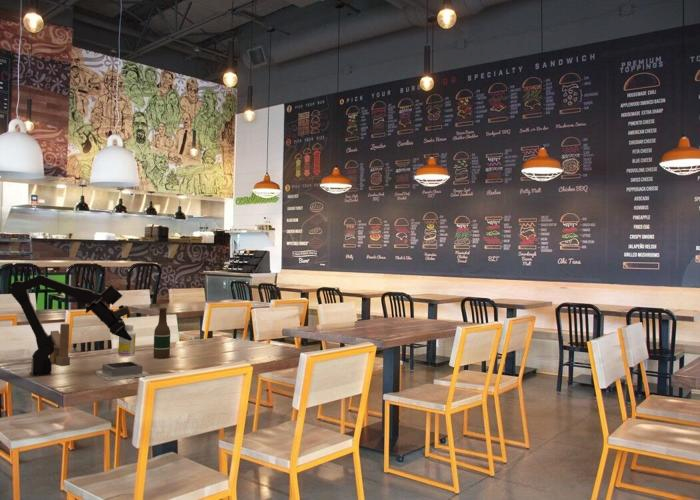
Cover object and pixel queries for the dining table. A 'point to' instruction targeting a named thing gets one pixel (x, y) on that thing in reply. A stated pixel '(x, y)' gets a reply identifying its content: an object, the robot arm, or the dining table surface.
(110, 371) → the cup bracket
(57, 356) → the wooden block
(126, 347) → the supplement bottle
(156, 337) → the beer bottle
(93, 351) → the dining table surface
